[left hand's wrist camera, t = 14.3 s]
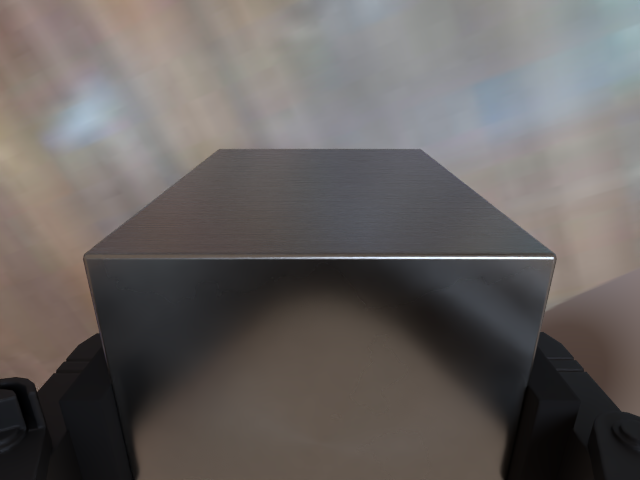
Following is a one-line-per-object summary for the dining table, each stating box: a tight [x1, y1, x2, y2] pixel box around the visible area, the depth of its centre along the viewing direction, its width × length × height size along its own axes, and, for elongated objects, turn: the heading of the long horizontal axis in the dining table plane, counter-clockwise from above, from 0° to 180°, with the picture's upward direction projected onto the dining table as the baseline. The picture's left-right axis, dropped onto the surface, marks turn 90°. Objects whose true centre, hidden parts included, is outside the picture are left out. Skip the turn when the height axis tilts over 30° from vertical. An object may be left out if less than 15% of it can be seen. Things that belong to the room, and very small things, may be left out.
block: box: [83, 149, 556, 480], centre depth 13 cm, size 8×8×10 cm
